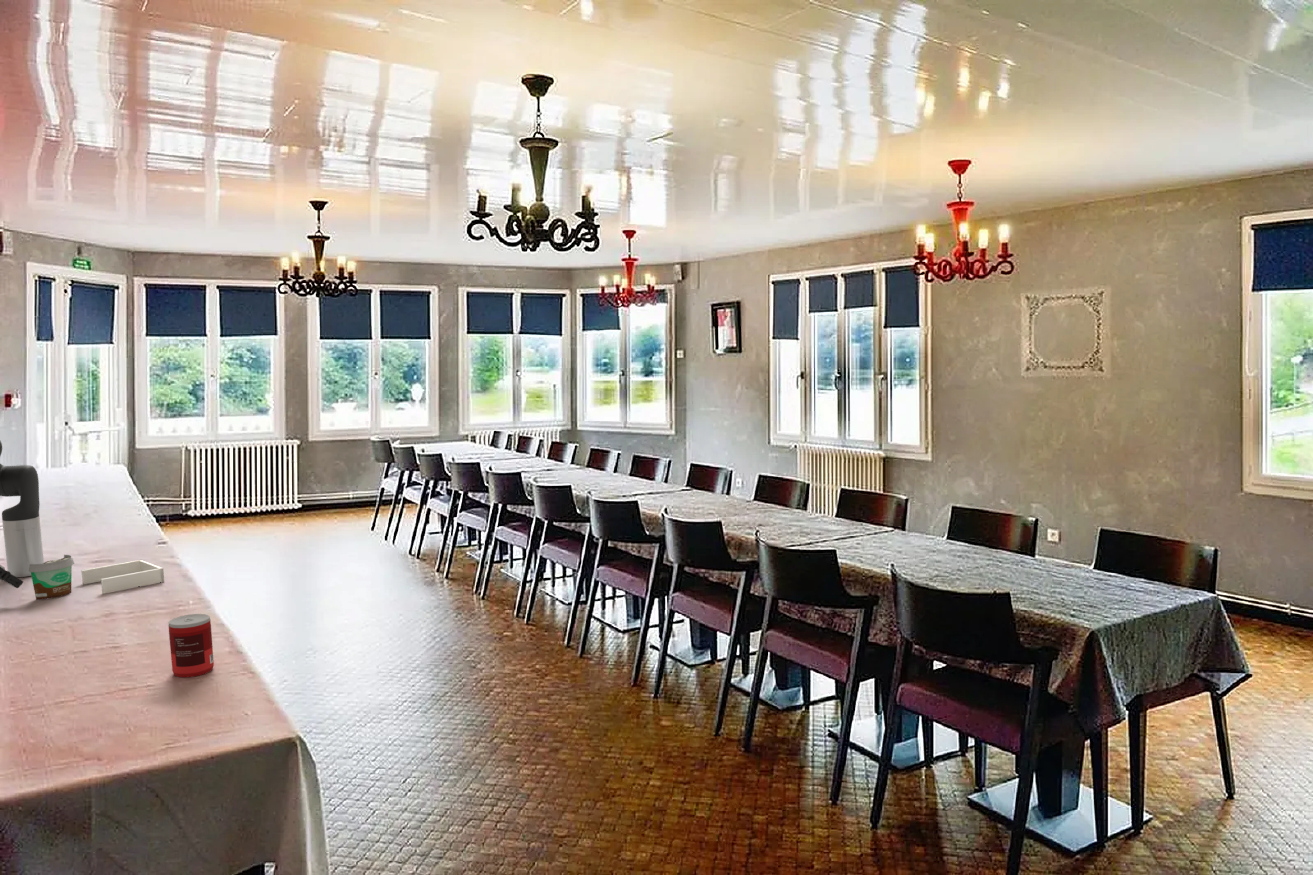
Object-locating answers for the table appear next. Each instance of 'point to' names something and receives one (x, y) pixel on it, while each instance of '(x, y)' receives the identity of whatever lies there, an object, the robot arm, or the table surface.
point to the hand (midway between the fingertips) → (20, 584)
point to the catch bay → (124, 575)
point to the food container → (52, 578)
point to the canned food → (191, 645)
